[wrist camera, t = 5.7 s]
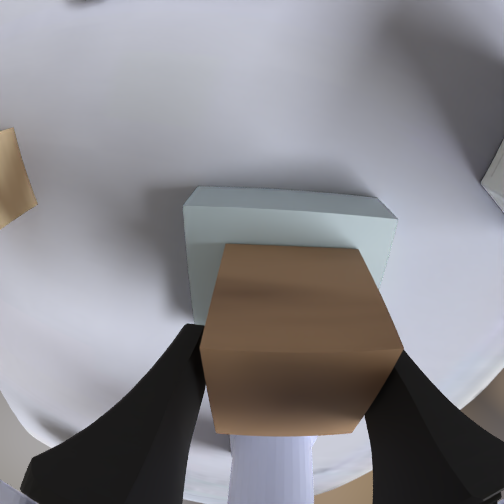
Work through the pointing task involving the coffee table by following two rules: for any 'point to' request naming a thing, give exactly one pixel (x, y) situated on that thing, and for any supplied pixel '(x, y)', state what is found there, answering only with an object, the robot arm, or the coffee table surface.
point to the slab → (278, 229)
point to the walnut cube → (295, 341)
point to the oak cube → (13, 180)
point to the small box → (496, 178)
